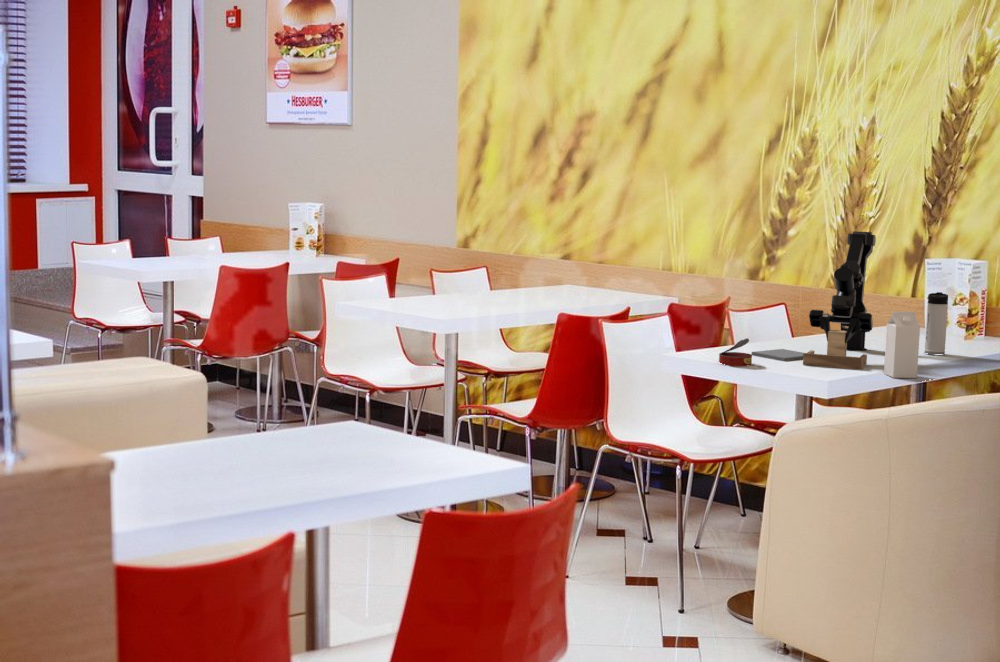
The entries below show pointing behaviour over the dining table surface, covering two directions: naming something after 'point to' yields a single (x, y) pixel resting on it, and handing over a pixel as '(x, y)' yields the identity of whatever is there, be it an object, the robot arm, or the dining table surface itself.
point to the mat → (780, 354)
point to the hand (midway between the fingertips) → (836, 341)
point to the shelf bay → (834, 360)
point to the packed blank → (836, 343)
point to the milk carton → (902, 345)
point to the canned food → (736, 356)
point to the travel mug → (936, 323)
